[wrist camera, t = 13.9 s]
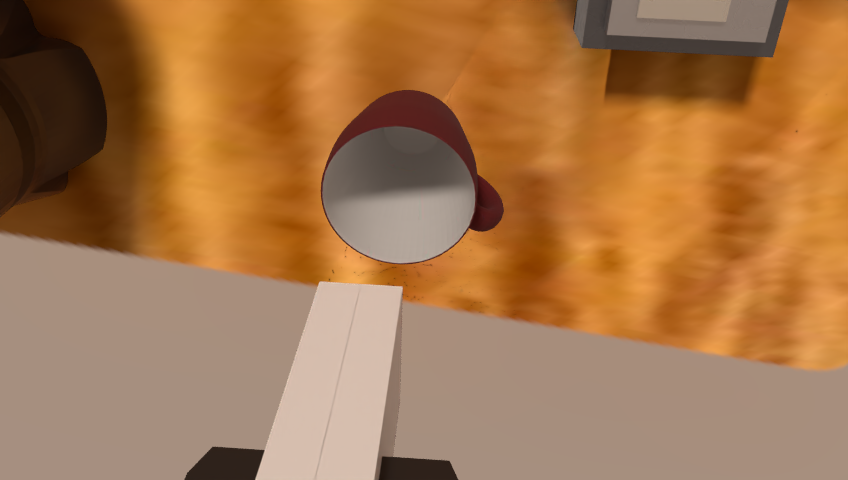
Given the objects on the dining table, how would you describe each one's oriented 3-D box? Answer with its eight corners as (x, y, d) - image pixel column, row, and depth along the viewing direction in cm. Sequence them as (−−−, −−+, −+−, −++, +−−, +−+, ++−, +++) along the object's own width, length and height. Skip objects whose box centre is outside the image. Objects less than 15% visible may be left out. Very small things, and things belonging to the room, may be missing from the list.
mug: (535, 115, 45) (550, 187, 37) (474, 217, 49) (475, 304, 40) (379, 39, 43) (356, 96, 35) (329, 151, 47) (297, 227, 39)
